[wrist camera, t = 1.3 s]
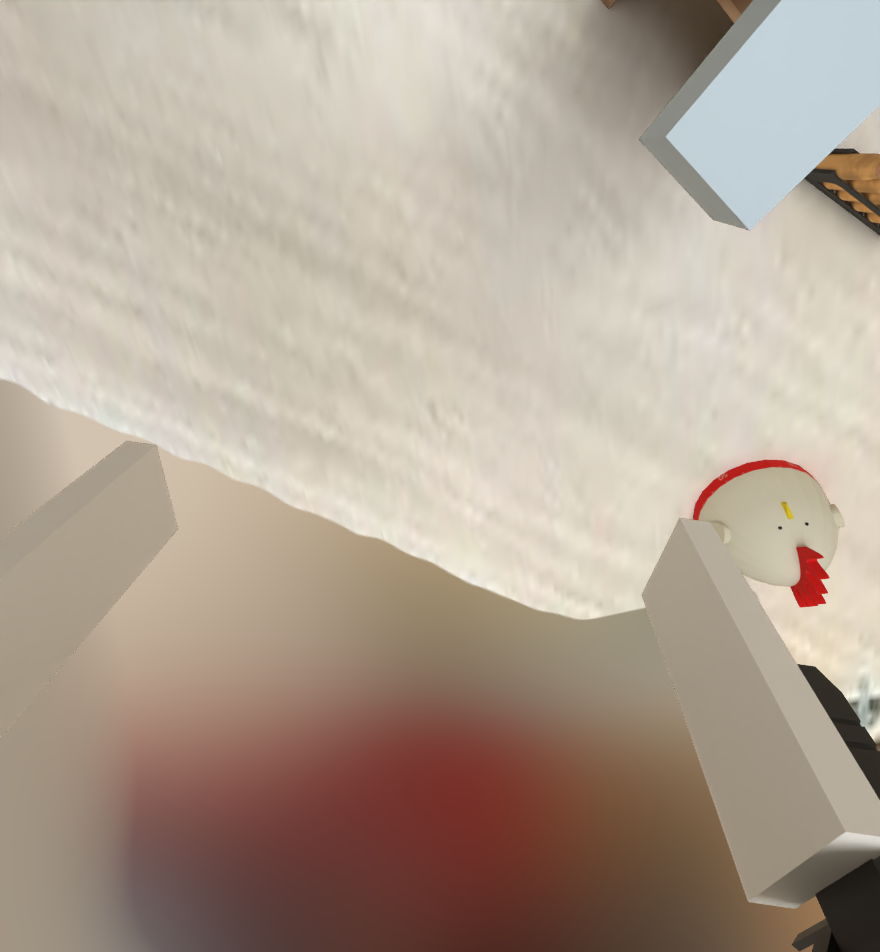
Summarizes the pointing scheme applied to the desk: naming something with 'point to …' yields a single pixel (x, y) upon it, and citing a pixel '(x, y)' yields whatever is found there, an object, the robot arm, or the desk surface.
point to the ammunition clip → (851, 183)
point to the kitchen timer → (775, 525)
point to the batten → (770, 104)
